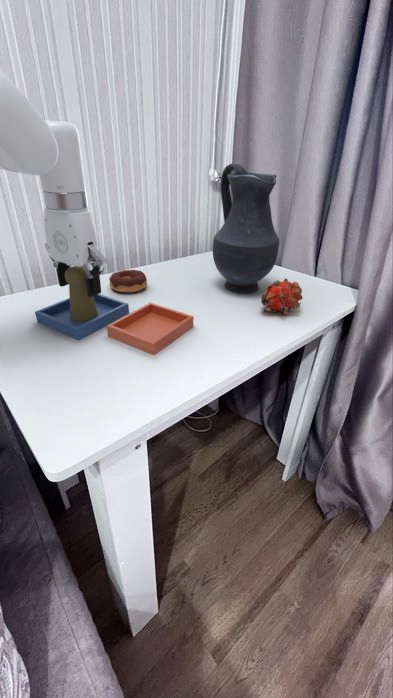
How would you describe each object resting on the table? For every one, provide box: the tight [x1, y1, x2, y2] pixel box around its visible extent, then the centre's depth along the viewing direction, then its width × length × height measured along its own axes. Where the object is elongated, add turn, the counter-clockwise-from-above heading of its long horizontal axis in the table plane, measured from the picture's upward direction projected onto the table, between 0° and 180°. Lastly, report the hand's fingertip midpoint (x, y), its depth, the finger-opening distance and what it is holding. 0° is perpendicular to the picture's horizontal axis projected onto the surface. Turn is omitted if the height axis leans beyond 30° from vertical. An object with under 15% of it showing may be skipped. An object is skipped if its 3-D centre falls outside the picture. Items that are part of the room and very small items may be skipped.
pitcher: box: [212, 163, 280, 295], centre depth 87 cm, size 17×21×30 cm
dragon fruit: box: [260, 278, 304, 315], centre depth 80 cm, size 8×8×12 cm
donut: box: [109, 269, 148, 293], centre depth 89 cm, size 10×10×4 cm
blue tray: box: [34, 293, 130, 341], centre depth 74 cm, size 15×13×2 cm
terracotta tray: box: [106, 302, 195, 356], centre depth 70 cm, size 14×12×2 cm
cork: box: [65, 266, 98, 322], centre depth 71 cm, size 6×6×11 cm
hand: (80, 289), depth 71 cm, fingers open, 8 cm apart
